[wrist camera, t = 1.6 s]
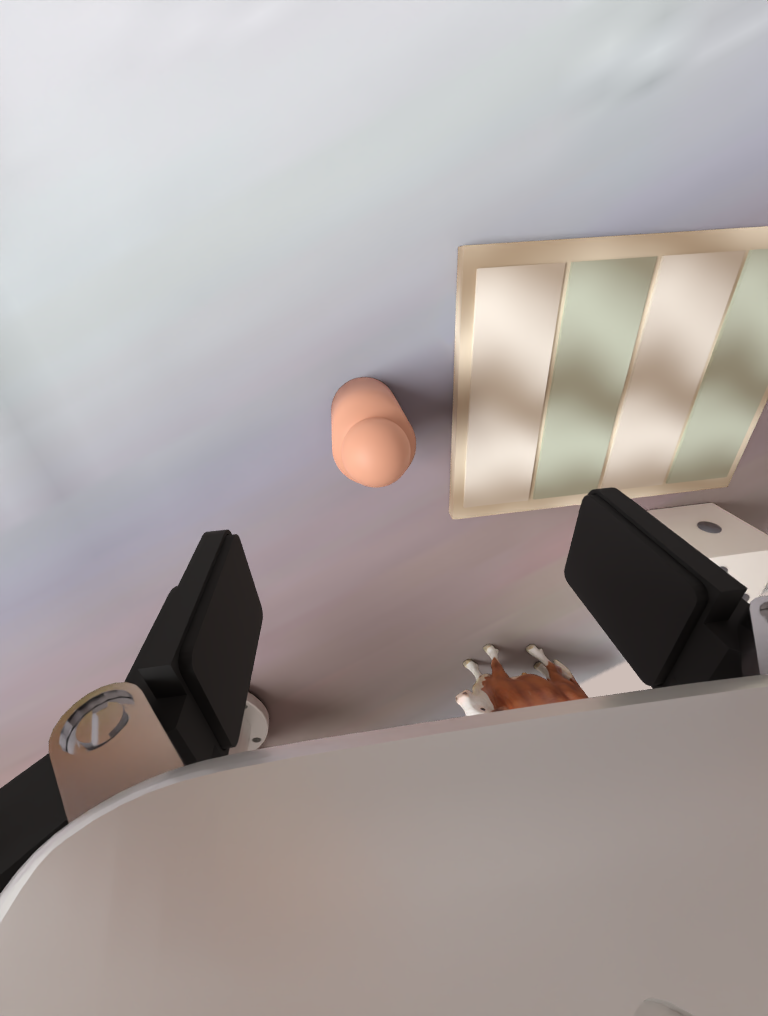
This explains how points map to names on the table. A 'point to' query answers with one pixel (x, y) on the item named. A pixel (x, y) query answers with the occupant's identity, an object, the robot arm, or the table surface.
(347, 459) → the peach rounded cylinder
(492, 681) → the bull figurine
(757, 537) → the die
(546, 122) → the table surface
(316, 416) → the table surface
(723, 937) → the robot arm
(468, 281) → the game board
